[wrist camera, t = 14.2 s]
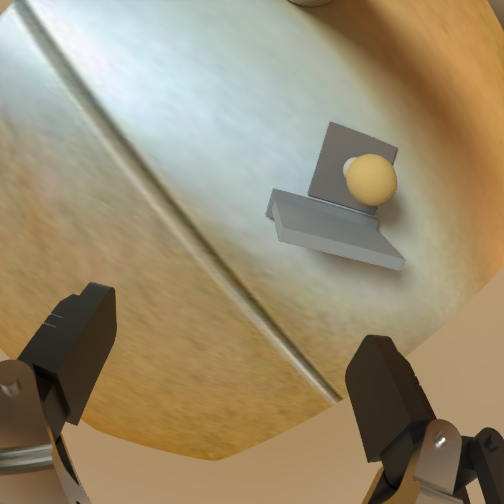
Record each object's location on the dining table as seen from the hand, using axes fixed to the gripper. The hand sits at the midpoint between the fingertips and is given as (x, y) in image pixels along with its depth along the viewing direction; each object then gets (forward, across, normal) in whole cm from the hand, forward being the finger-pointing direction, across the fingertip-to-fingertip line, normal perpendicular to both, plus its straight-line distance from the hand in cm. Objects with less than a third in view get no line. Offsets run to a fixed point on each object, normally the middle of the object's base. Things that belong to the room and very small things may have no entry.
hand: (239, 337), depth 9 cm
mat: (+35, -15, -3) cm, 38 cm away
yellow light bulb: (+34, -15, -3) cm, 38 cm away
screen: (+35, -13, +5) cm, 37 cm away
